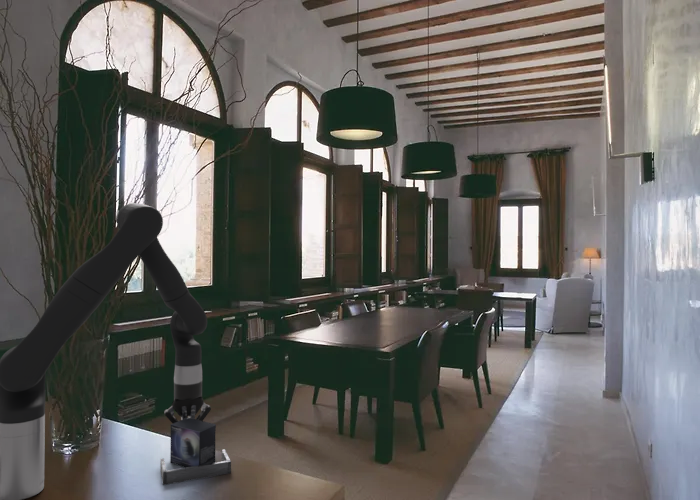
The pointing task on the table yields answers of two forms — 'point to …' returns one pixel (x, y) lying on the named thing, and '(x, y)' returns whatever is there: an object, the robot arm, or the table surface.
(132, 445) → the table surface
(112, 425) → the table surface
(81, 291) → the robot arm
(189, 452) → the small box
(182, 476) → the metal bracket
